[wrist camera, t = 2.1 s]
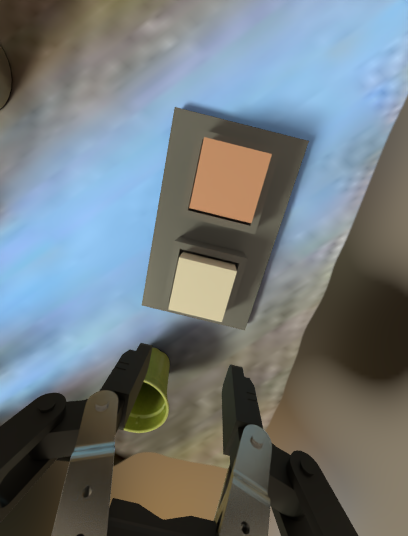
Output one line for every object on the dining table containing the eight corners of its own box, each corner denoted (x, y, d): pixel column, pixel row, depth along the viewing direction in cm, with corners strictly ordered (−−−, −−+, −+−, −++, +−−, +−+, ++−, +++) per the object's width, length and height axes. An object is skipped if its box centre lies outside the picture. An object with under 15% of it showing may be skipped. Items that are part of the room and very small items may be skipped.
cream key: (173, 298, 28) (168, 309, 26) (183, 251, 26) (179, 257, 24) (221, 310, 28) (221, 322, 26) (234, 264, 27) (237, 271, 24)
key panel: (145, 301, 34) (133, 317, 29) (177, 112, 26) (168, 91, 21) (243, 324, 34) (248, 344, 29) (303, 144, 26) (323, 131, 21)
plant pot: (118, 342, 36) (89, 383, 28) (171, 333, 35) (157, 374, 27) (134, 386, 39) (112, 435, 30) (185, 379, 38) (176, 429, 29)
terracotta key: (192, 207, 25) (189, 208, 22) (205, 145, 23) (204, 136, 20) (247, 221, 25) (251, 223, 22) (265, 160, 23) (272, 154, 20)
